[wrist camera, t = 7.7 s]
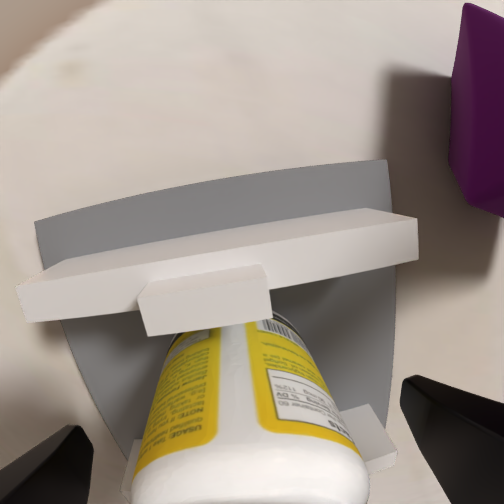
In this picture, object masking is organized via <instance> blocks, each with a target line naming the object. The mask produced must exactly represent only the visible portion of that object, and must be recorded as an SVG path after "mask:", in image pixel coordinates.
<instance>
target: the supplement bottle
mask: <svg viewBox="0 0 504 504" xmlns="http://www.w3.org/2000/svg"><path fill="white" fill-rule="evenodd" d="M272 315H273V318H270V319H264V320H259V321H253V322H247V323H241V324H235V325H229V326H222V327H216V328H209V329H202V330H195V331H188V332H181V333H176V334H175V336H174V337H173V339H172V341H171V344H170V346H169V349H168V352H167V355H166V359H165V362H164V364H163V368H162V371H161V375H160V378H159V382H158V385H157V389H156V392H155V396H154V399H153V403H152V406H151V410H150V413H149V417H148V421H147V424H146V428H145V432H144V435H143V439H142V443H141V447H140V451H139V455H138V459H137V463H136V467H135V471H134V475H133V479H132V484H131V504H367V501H368V498H369V494H370V478H369V474H368V471H367V468H366V465H365V463H364V461H363V459H362V456H361V454H360V452H359V450H358V448H357V446H356V444H355V442H354V440H353V438H352V436H351V434H350V432H349V430H348V428H347V426H346V424H345V422H344V420H343V418H342V416H341V414H340V412H339V410H338V408H337V406H336V404H335V402H334V400H333V398H332V396H331V394H330V392H329V390H328V388H327V386H326V384H325V382H324V380H323V378H322V376H321V374H320V372H319V370H318V368H317V366H316V364H315V362H314V360H313V358H312V356H311V354H310V352H309V351H308V349H307V346H306V344H305V342H304V340H303V339H302V337H301V335H300V334H299V332H298V331H297V329H296V328H295V327H294V326H293V325H292V324H291V323H290V322H289V321H288V320H287V319H286V318H284V317H283V316H281V315H280V314H278V313H276V312H275V311H272Z"/></svg>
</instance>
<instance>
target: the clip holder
mask: <svg viewBox="0 0 504 504" xmlns="http://www.w3.org/2000/svg"><path fill="white" fill-rule="evenodd" d="M34 224H35V229H36V234H37V239H38V243H39V248H40V252H41V256H42V260H43V264H44V268H45V270H44V271H42V272H41V273H39V274H37V275H35V276H33V277H31V278H30V279H28V280H26V281H24V282H22V283H21V284H19V285H17V286H15V288H16V291H17V294H18V298H19V301H20V304H21V307H22V310H23V313H24V316H25V319H26V321H27V323H31V322H42V321H51V320H60V321H61V324H62V326H63V329H64V332H65V335H66V337H67V340H68V343H69V345H70V348H71V350H72V353H73V355H74V358H75V360H76V363H77V365H78V367H79V370H80V372H81V374H82V376H83V379H84V381H85V383H86V385H87V387H88V389H89V392H90V394H91V396H92V398H93V400H94V402H95V404H96V406H97V408H98V410H99V412H100V414H101V415H102V417H103V419H104V421H105V423H106V425H107V427H108V428H109V430H110V432H111V434H112V436H113V437H114V439H115V441H116V443H117V444H118V446H119V448H120V449H121V451H122V453H123V454H124V456H125V457H126V459H127V461H128V463H127V466H126V470H125V473H124V477H123V480H122V484H121V487H120V492H121V493H122V494H123V496H124V497H125V498H126V499H127V500H128V502H129V503H130V504H131V484H132V479H133V475H134V471H135V467H136V463H137V459H138V455H139V451H140V447H141V443H142V439H143V435H144V432H145V428H146V424H147V421H148V417H149V413H150V410H151V406H152V403H153V399H154V396H155V392H156V389H157V385H158V382H159V378H160V375H161V371H162V368H163V364H164V362H165V359H166V355H167V352H168V349H169V346H170V344H171V341H172V339H173V337H174V336H175V334H176V333H181V332H188V331H195V330H202V329H209V328H216V327H222V326H229V325H235V324H241V323H247V322H253V321H259V320H264V319H270V318H273V315H272V311H275V312H276V313H278V314H280V315H281V316H283V317H284V318H286V319H287V320H288V321H289V322H290V323H291V324H292V325H293V326H294V327H295V328H296V329H297V331H298V332H299V334H300V335H301V337H302V339H303V340H304V342H305V344H306V346H307V349H308V351H309V352H310V354H311V356H312V358H313V360H314V362H315V364H316V366H317V368H318V370H319V372H320V374H321V376H322V378H323V380H324V382H325V384H326V386H327V388H328V390H329V392H330V394H331V396H332V398H333V400H334V402H335V404H336V406H337V408H338V410H339V412H340V414H341V416H342V418H343V420H344V422H345V424H346V426H347V428H348V430H349V432H350V434H351V436H352V438H353V440H354V442H355V444H356V446H357V448H358V450H359V452H360V454H361V456H362V459H363V461H364V463H365V465H366V468H367V471H368V474H369V475H370V474H373V473H376V472H379V471H381V470H384V469H387V468H390V467H392V466H394V464H395V460H396V456H397V452H398V450H397V448H396V447H395V445H394V443H393V442H392V440H391V439H390V437H389V435H388V434H387V432H386V431H385V427H386V421H387V414H388V406H389V398H390V389H391V380H392V369H393V356H394V340H395V314H396V266H395V265H396V264H401V263H405V262H410V261H414V260H419V248H418V223H417V218H413V217H408V216H403V215H399V214H394V213H393V211H392V200H391V190H390V181H389V172H388V164H387V159H384V160H370V161H358V162H347V163H336V164H326V165H317V166H308V167H300V168H292V169H284V170H277V171H269V172H262V173H255V174H249V175H242V176H236V177H230V178H224V179H218V180H212V181H206V182H201V183H195V184H190V185H184V186H179V187H174V188H169V189H164V190H159V191H154V192H150V193H145V194H140V195H136V196H131V197H127V198H123V199H118V200H114V201H110V202H106V203H102V204H98V205H94V206H90V207H86V208H82V209H78V210H74V211H70V212H67V213H63V214H59V215H56V216H52V217H49V218H45V219H42V220H38V221H35V222H34Z"/></svg>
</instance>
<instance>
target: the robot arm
mask: <svg viewBox="0 0 504 504" xmlns="http://www.w3.org/2000/svg"><path fill="white" fill-rule="evenodd" d="M400 407H401V409H402V412H403V414H404V416H405V418H406V420H407V423H408V425H409V427H410V429H411V432H412V434H413V436H414V438H415V441H416V443H417V445H418V447H419V449H420V451H421V453H422V455H423V456H424V458H425V460H426V461H427V463H428V465H429V466H430V468H431V470H432V471H433V473H434V475H435V476H436V478H437V480H438V482H439V483H440V485H441V487H442V488H443V490H444V492H445V494H446V495H447V497H448V499H449V501H450V502H451V504H504V403H501V402H497V401H494V400H491V399H488V398H485V397H482V396H479V395H475V394H472V393H469V392H466V391H463V390H460V389H457V388H454V387H451V386H449V385H446V384H443V383H440V382H437V381H434V380H431V379H429V378H426V377H423V376H420V375H413V376H410V377H408V378H405V379H404V380H403V382H402V389H401V396H400ZM93 454H94V449H93V445H92V443H91V442H90V440H89V438H88V437H87V435H86V433H85V432H84V430H83V428H82V427H81V426H79V425H66V426H65V427H63V428H62V429H60V430H59V431H58V432H56V433H55V434H53V435H52V436H50V437H49V438H47V439H46V440H45V441H43V442H42V443H40V444H39V445H37V446H36V447H34V448H33V449H31V450H30V451H28V452H27V453H25V454H24V455H22V456H21V457H19V458H18V459H16V460H15V461H13V462H12V463H10V464H9V465H7V466H6V467H4V468H3V469H1V470H0V504H87V501H88V496H89V489H90V480H91V470H92V462H93Z"/></svg>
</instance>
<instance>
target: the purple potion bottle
mask: <svg viewBox="0 0 504 504" xmlns="http://www.w3.org/2000/svg"><path fill="white" fill-rule="evenodd" d="M448 162H449V166H450V168H451V170H452V172H453V174H454V176H455V178H456V180H457V182H458V184H459V187H460V189H461V191H462V193H463V195H464V198H465V200H466V201H467V202H468V204H469V205H471V206H473V207H476V208H479V209H482V210H484V211H487V212H490V213H492V214H495V215H498V216H500V217H503V218H504V18H503V17H501V16H499V15H497V14H494V13H492V12H490V11H488V10H486V9H483V8H481V7H479V6H476V5H474V4H471V3H465V4H464V5H463V9H462V17H461V25H460V32H459V39H458V45H457V51H456V57H455V62H454V67H453V72H452V77H451V127H450V143H449V155H448Z"/></svg>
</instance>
